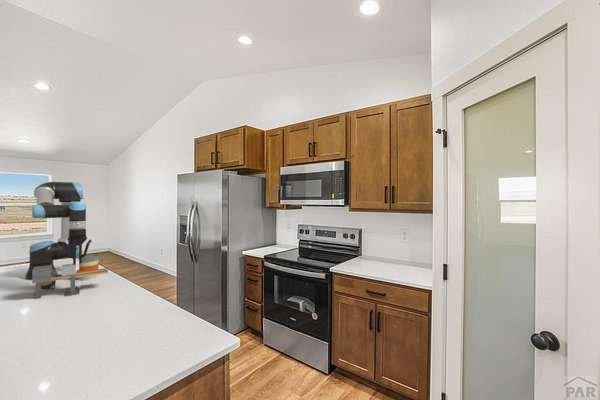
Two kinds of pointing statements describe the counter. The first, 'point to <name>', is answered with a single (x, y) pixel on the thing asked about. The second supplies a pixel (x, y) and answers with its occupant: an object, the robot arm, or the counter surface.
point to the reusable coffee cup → (88, 265)
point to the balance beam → (46, 274)
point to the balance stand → (69, 291)
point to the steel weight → (68, 269)
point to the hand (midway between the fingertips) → (77, 269)
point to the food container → (49, 283)
